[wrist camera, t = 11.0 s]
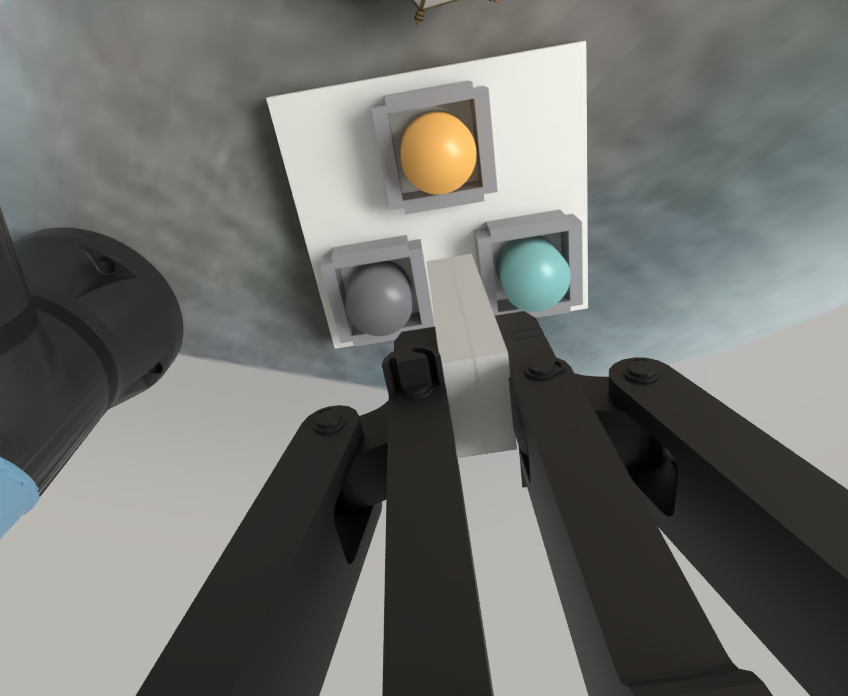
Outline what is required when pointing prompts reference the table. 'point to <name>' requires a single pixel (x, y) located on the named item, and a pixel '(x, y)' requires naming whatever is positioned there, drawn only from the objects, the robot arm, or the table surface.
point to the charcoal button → (379, 298)
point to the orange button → (437, 152)
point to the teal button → (532, 273)
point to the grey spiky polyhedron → (429, 6)
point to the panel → (452, 212)
